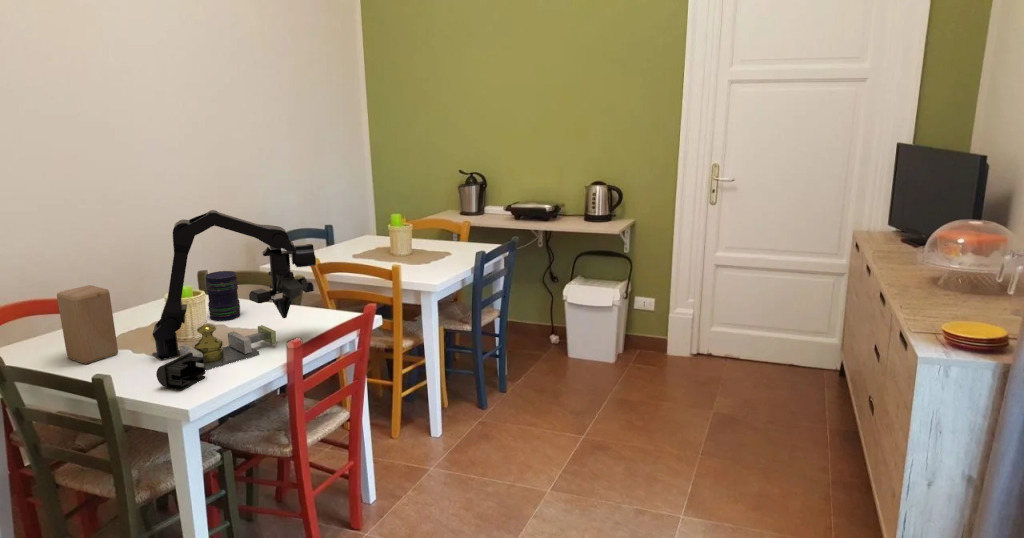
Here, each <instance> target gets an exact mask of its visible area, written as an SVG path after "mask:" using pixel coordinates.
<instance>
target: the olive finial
mask: <svg viewBox="0 0 1024 538" xmlns="http://www.w3.org/2000/svg"><path fill="white" fill-rule="evenodd" d="M216 330H217V326H216V325H213V324H210V323H204V324H203V325H200V326H199V327H198V328H197V329H196V332H198V333H199V334H200V335H201V338H200V339H199V340H198V341H196V342H195V343H194V346H193V347H194V349H196V350H198V351H199V352H201V353H203V358H204V362H213V361H216V360H219V359H221V358H222V357H223V356H224V354H223V345H224V344H223V341H222V340H221V339H220V338H217V337H216V336H215V335H213V333H215V331H216Z"/></svg>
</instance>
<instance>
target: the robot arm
mask: <svg viewBox="0 0 1024 538" xmlns="http://www.w3.org/2000/svg"><path fill="white" fill-rule="evenodd" d="M213 227H217V228H221V229H225V230H228V231H231V232H235V233H238V234H242V235H245V236H248V237H251V238H255V239H257V240H259V241H260V242H262V243H264V244H265V245H268V246H267V247H266V248H265V249H264V250H263V251H262V256H263V257H269V266H270V268H269V269H270V271H268V275H269V276H270V280H271V284H269V288H270V290H266V289H264V288H259V289H255V290H251V291H250V292H249V293H248V299H249V301H251V302H254V303H257V304H263V303H268V302H270V301H271V302H273V304H274V305H275V308H276V309H277V311H278V312H279V315H280V316H281V317H282V319H287V316H288V313H289V309H290V307H291V304H292V302H293V300H294V299H297V298H298V297H300V296H302V293H303V292H304V293H306V294H307V293H310V292H311V293H312V292H314V291H315V287H314V286H315V285H314V283H313V282H312V281H309V280H307V278H306V277H301V278H295V275H294V272H293V271H291V265H295V267H296V268H306V267H315V266H316V265H317V264H316V263H317V258H316V255H315V249H314V244H313V243H307V244H299V245H298V244H297V245H295V244H294V242H293V241H291V240H290V238H289V235H288V233H287V231H286V229H285V228H284V227H282V226H278V225H273V224H272V225H270V224H258V223H256V222H255V223H254V222H251V221H248V220H245V219H241V218H238V217H235V216H231V215H229V214H226V213H223V212H220V211H218V210H215V209H211V210H209V211H207V212H205V213H202V214H200V215H197V216H195V217H192V218H190V219H180V220H178V221H176V222H175V224H174V226H173V230H172V243H173V244H172V245H173V246H172V247H173V260H172V266H171V271H170V272H171V273H170V280H169V286H168V287H169V288H168V294H167V299H166V301H165V304H164V306H163V309H162V312H161V315H160V319H159V320H158V321H157V322H156V323H155V324H154V327H153V331H152V337H153V338H154V343H155V349H156V351H155V352H153V353H152V354H151V355H152V356H153V357H155V358H157V359H158V360H160V361H163V360H168V359H171V358H175V357H178V356H179V357H180V356H181V355H180V349H179V344H178V335H177V331H178V330H180V329H181V328H182V325H183V324H185V323H186V312H187V307H188V305H187V304H183V300H182V299H183V298H182V295H183V289H184V285H185V284H184V283H185V277H186V276H185V275H186V269H187V263H188V255H189V253H190V250H191V247H192V245H193V242H194V239H195V236H198V235H199V234H201V233H203V232H205V231H207V230H208V229H210V228H213ZM269 246H270V247H272V248H270V247H269ZM282 249H283V250H282ZM290 256H291V257H290ZM290 260H291V262H290Z"/></svg>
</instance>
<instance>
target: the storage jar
mask: <svg viewBox="0 0 1024 538" xmlns="http://www.w3.org/2000/svg"><path fill="white" fill-rule="evenodd" d="M205 287H206V293H207V295H208V303H207V305H208V312H209V315H210V316H209V319H210V320H211V321H213V322H229V321H232V320H236V319H238V318H240V317H241V304H240V303H241V302H240V299H239V297H238V296H239V295H238V290H239V286H238V279H237V272H236V271H232V270H221V271H220V270H219V271H214V272H209V273H207V274H205Z"/></svg>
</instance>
